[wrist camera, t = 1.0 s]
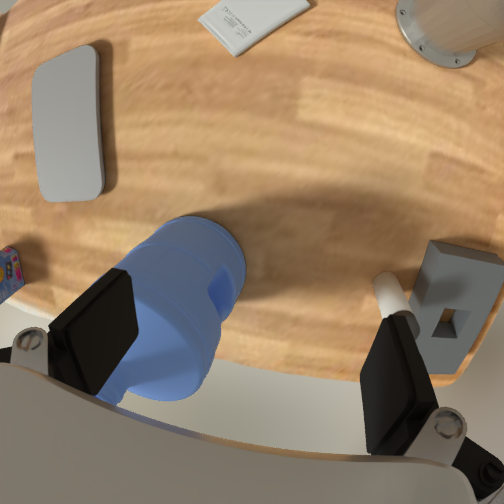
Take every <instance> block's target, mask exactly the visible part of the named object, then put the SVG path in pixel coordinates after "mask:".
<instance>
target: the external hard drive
mask: <svg viewBox="0 0 504 504" xmlns="http://www.w3.org/2000/svg"><path fill="white" fill-rule="evenodd" d="M308 8H310V4H309V3H308V2H307V1H306V0H222V1H220V2H219V3H218V4H216V5H215V6H214V7H212V8H211V9H210V10H209V11H207V12H206V13H205V14H204V15H202V16H201V17H200V18H199V19H197V20H198V21H199V22H200V23H201V24H202V25H203V26H205V27H206V28H207V29H208V30H209V31H210V32H211V33H212V34H213V35H214V36H215V37H216V38H217V39H218V40H219V41H220V42H221V43H222V45H223V46H224V47H225V48H226V49H227V50H228V51H229V52H230V53H231V54H232V55H233V56H234V57H235V58H236V57H237V56H239V55H240V54H241V53H243V52H244V51H245V50H247V49H248V48H249V47H251V46H252V45H253V44H255V43H256V42H258V41H259V40H260V39H262V38H263V37H265V36H266V35H268V34H269V33H270V32H272V31H273V30H275V29H276V28H278V27H279V26H281V25H282V24H284V23H285V22H287V21H289V20H290V19H292V18H293V17H295V16H296V15H298V14H300V13H301V12H303V11H305V10H306V9H308Z"/></svg>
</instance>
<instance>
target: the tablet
mask: <svg viewBox="0 0 504 504" xmlns="http://www.w3.org/2000/svg"><path fill="white" fill-rule="evenodd" d="M99 66H100V58H99V55H98V53H97V50H96V49H95V48H94V47H93V46H90V45H83V46H80V47H78V48H75V49H73V50H70V51H68V52H66V53H64V54H61V55H59V56H57V57H55V58H53V59H51V60H49V61H47V62H45V63H43V64H41V65H40V66H39V67H38V68H37V70H36V71H35V73H34V76H33V80H32V121H33V137H34V149H35V159H36V167H37V175H38V182H39V188H40V191H41V194H42V196H43V197H44V198H45V199H46V200H47V201H49V202H66V201H86V200H93V199H95V198H97V197H98V196H100V194H101V193H102V191H103V188H104V185H105V171H104V162H103V151H102V138H101V122H100V94H99Z"/></svg>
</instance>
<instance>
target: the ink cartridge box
mask: <svg viewBox="0 0 504 504" xmlns="http://www.w3.org/2000/svg"><path fill="white" fill-rule="evenodd" d="M24 285H25V283H24V279H23V275H22V271H21V266H20V262H19V257H18V252H17V251H16V250H14V249H12V248H9V247H5V248H3V249H2V250H0V304H2V303H3V302H4V301H5V300H6V299H8V298H9V297H10V296H11V295H13V294H14V293H15V292H16V291H18V290H19V289H20V288H21V287H23V286H24Z"/></svg>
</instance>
